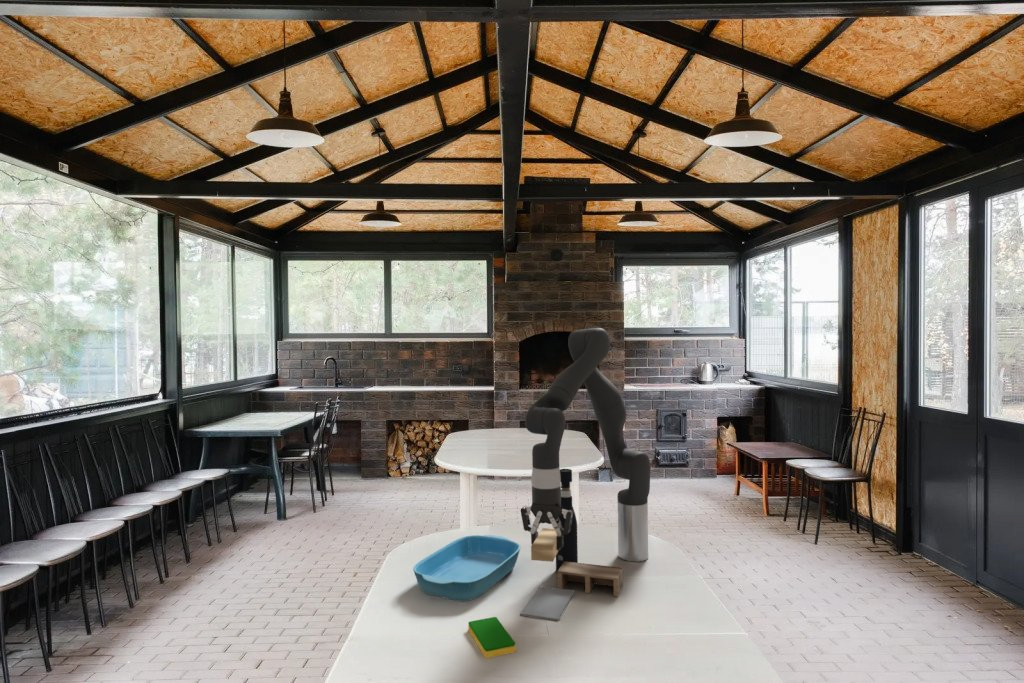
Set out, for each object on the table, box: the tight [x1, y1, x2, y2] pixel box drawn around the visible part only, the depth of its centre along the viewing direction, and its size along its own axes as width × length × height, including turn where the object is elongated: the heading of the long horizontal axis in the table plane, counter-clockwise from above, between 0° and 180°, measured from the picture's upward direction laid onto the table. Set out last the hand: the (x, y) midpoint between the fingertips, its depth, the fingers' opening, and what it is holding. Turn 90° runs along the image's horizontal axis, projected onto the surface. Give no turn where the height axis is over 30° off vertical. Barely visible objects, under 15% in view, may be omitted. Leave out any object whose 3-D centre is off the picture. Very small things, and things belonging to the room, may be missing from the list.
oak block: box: [530, 527, 559, 563], centre depth 162 cm, size 14×6×4 cm, turn 165°
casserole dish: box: [412, 534, 521, 602], centre depth 179 cm, size 37×22×7 cm, turn 153°
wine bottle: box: [555, 468, 579, 574], centre depth 183 cm, size 6×6×30 cm
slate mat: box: [519, 585, 575, 622], centre depth 162 cm, size 17×10×1 cm, turn 161°
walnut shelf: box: [557, 561, 624, 598], centre depth 171 cm, size 7×17×5 cm, turn 71°
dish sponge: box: [467, 616, 516, 659], centre depth 144 cm, size 7×14×2 cm, turn 20°
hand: (547, 547), depth 162 cm, fingers closed on oak block, 5 cm apart
